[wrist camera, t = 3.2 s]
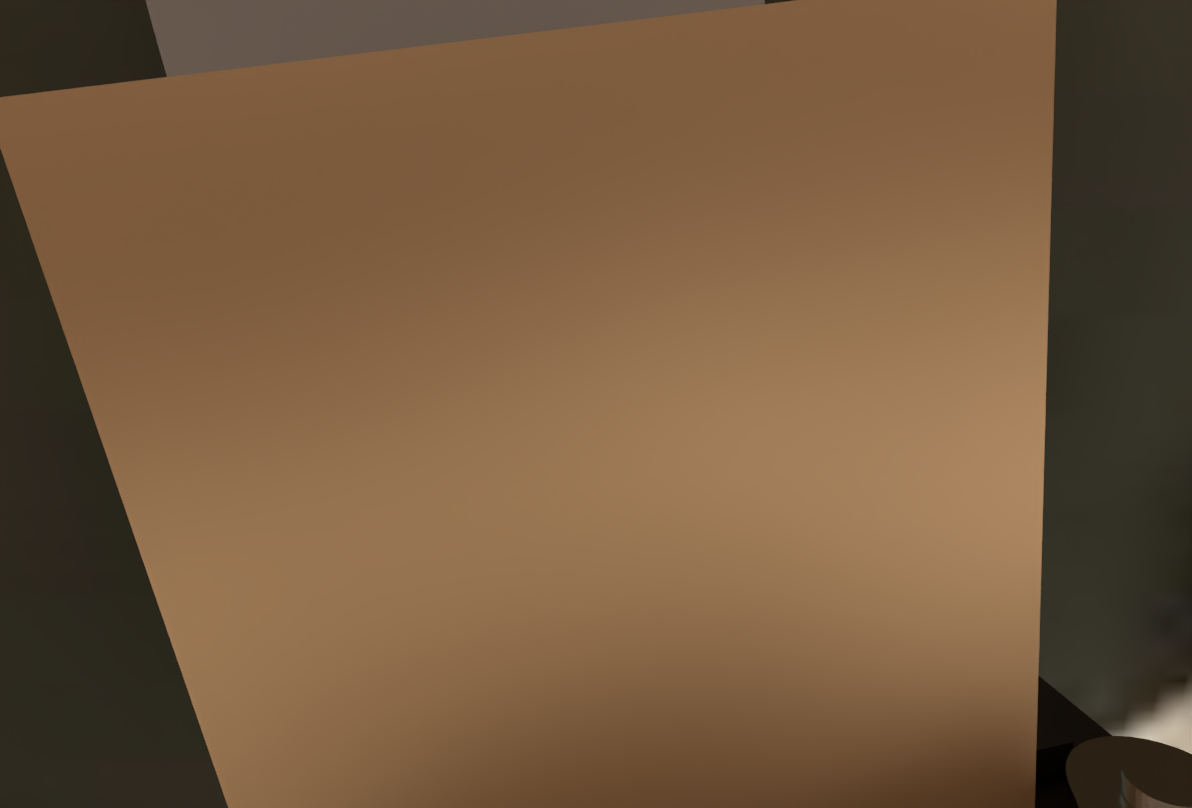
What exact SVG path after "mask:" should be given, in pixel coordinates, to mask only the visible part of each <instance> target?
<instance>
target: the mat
mask: <svg viewBox="0 0 1192 808" xmlns="http://www.w3.org/2000/svg"><path fill="white" fill-rule="evenodd" d="M146 4H147V7H148V11H149V15H150V18H151V22H152V25H153V29H154V32H155V36H156V40H157V43H158V47H159V50H160V54H161V57H162V61H163V65H164V68H165V72H166V75H167V77H172V76H180V75H188V74H196V73H204V72H213V71H221V70H229V69H237V68H245V67H254V66H262V65H270V64H278V63H286V62H295V61H303V60H311V59H319V58H327V57H336V56H344V55H352V54H360V53H369V52H377V51H385V50H393V49H401V48H410V47H418V46H426V45H434V44H442V43H451V42H459V41H467V40H475V39H483V38H492V37H500V36H508V35H516V34H524V33H533V32H541V31H549V30H557V29H565V28H574V27H582V26H590V25H598V24H607V23H615V22H623V21H631V20H639V19H648V18H656V17H664V16H672V15H680V14H689V13H697V12H705V11H713V10H721V9H730V8H738V7H746V6H754V5H762V4H765V0H146Z"/></svg>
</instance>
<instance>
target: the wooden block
mask: <svg viewBox="0 0 1192 808" xmlns="http://www.w3.org/2000/svg"><path fill="white" fill-rule="evenodd" d="M1056 4H1057V0H795V1H787V2H779V3H771V4H762V5H754V6H746V7H738V8H730V9H721V10H713V11H705V12H697V13H689V14H680V15H672V16H664V17H656V18H648V19H639V20H631V21H623V22H615V23H607V24H598V25H590V26H582V27H574V28H565V29H557V30H549V31H541V32H533V33H524V34H516V35H508V36H500V37H492V38H483V39H475V40H467V41H459V42H451V43H442V44H434V45H426V46H418V47H410V48H401V49H393V50H385V51H377V52H369V53H360V54H352V55H344V56H336V57H327V58H319V59H311V60H303V61H295V62H286V63H278V64H270V65H262V66H254V67H245V68H237V69H229V70H221V71H213V72H204V73H196V74H188V75H180V76H172V77H163V78H155V79H147V80H139V81H130V82H122V83H114V84H106V85H98V86H89V87H81V88H73V89H65V90H57V91H48V92H40V93H32V94H24V95H16V96H7V97H0V148H1V151H2V154H3V157H4V160H5V163H6V166H7V169H8V171H9V174H10V177H11V180H12V183H13V186H14V189H15V192H16V195H17V198H18V200H19V203H20V206H21V209H22V212H23V215H24V218H25V221H26V224H27V226H28V229H29V232H30V235H31V238H32V241H33V244H34V247H35V250H36V253H37V255H38V258H39V261H40V264H41V267H42V270H43V273H44V276H45V279H46V281H47V284H48V287H49V290H50V293H51V296H52V299H53V302H54V305H55V307H56V310H57V313H58V316H59V319H60V322H61V325H62V328H63V331H64V334H65V336H66V339H67V342H68V345H69V348H70V351H71V354H72V357H73V360H74V362H75V365H76V368H77V371H78V374H79V377H80V380H81V383H82V386H83V388H84V391H85V394H86V397H87V400H88V403H89V406H90V409H91V412H92V415H93V417H94V420H95V423H96V426H97V429H98V432H99V435H100V438H101V441H102V443H103V446H104V449H105V452H106V455H107V458H108V461H109V464H110V467H111V470H112V472H113V475H114V478H115V481H116V484H117V487H118V490H119V493H120V496H121V498H122V501H123V504H124V507H125V510H126V513H127V516H128V519H129V522H130V524H131V527H132V530H133V533H134V536H135V539H136V542H137V545H138V548H139V551H140V553H141V556H142V559H143V562H144V565H145V568H146V571H147V574H148V577H149V579H150V582H151V585H152V588H153V591H154V594H155V597H156V600H157V603H158V606H159V608H160V611H161V614H162V617H163V620H164V623H165V626H166V629H167V632H168V634H169V637H170V640H171V643H172V646H173V649H174V652H175V655H176V658H177V660H178V663H179V666H180V669H181V672H182V675H183V678H184V681H185V684H186V687H187V689H188V692H189V695H190V698H191V701H192V704H193V707H194V710H195V713H196V715H197V718H198V721H199V724H200V727H201V730H202V733H203V736H204V739H205V741H206V744H207V747H208V750H209V753H210V756H211V759H212V762H213V765H214V768H215V770H216V773H217V776H218V779H219V782H220V785H221V788H222V791H223V794H224V796H225V799H226V802H227V805H228V808H1035V782H1036V745H1037V708H1038V671H1039V634H1040V597H1041V560H1042V523H1043V486H1044V448H1045V411H1046V374H1047V337H1048V300H1049V263H1050V226H1051V189H1052V152H1053V115H1054V78H1055V41H1056Z"/></svg>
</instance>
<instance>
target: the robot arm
mask: <svg viewBox="0 0 1192 808" xmlns="http://www.w3.org/2000/svg"><path fill="white" fill-rule="evenodd" d="M1035 808H1192V754H1190V753H1188V752H1185V751H1183V750H1180V749H1178V748H1175V747H1172V746H1169V745H1166V744H1163V743H1159V742H1155V741H1151V740H1147V739H1141V738H1134V737H1124V736H1112V735H1110V734H1109V733H1108V732H1107V731H1106V730H1104V729H1103V728H1102V727H1101V726H1099V725H1098V724H1097V723H1096V722H1095V721H1093V720H1092V719H1091V718H1090V717H1088V716H1087V715H1086V714H1085V713H1083V712H1082V711H1081V710H1080V709H1079V708H1077V707H1076V706H1075V705H1074V704H1072V703H1071V702H1070V701H1069V700H1068V699H1066V698H1065V697H1064V696H1063V695H1061V694H1060V693H1059V692H1058V691H1057V690H1055V689H1054V688H1053V687H1052V686H1050V685H1049V684H1048V683H1047V682H1046V681H1044V680H1043V679H1042V678H1041V677H1039V676H1038V708H1037V745H1036V782H1035Z"/></svg>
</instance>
